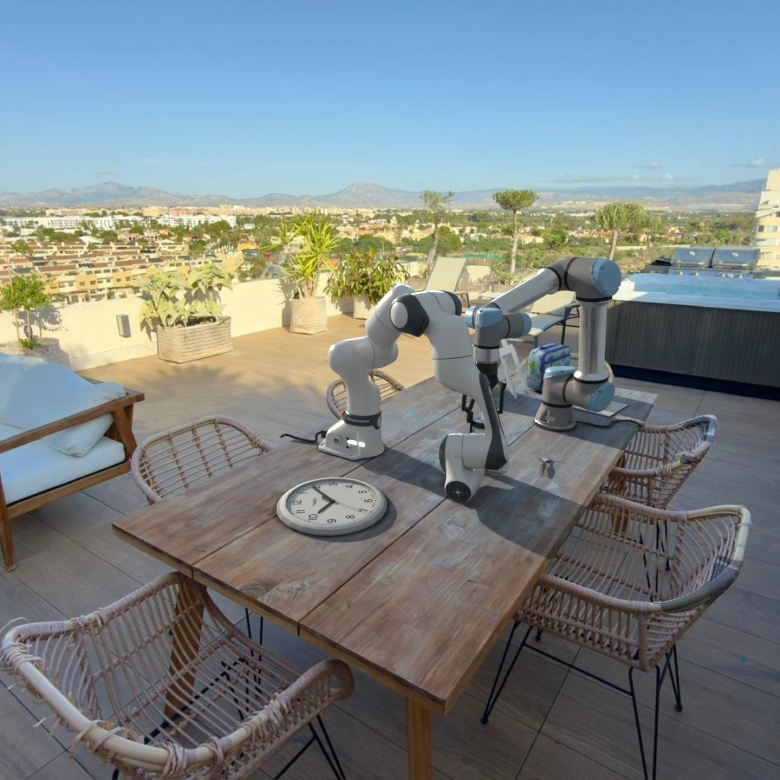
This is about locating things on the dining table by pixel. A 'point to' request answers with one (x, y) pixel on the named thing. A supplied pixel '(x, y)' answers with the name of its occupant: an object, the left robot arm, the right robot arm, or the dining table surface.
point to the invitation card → (608, 408)
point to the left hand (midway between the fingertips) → (479, 450)
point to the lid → (478, 423)
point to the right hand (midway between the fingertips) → (480, 433)
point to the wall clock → (331, 506)
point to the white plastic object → (505, 355)
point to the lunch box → (545, 363)
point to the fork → (545, 460)
